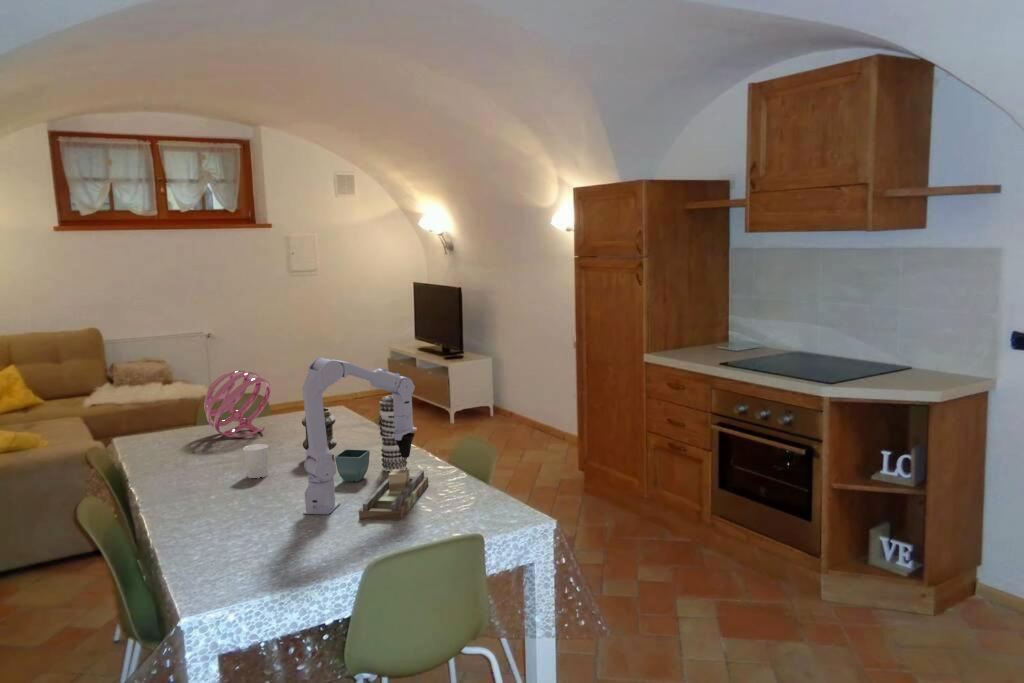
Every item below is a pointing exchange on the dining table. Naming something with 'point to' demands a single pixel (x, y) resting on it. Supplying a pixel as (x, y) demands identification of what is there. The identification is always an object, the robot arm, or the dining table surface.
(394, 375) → the robot arm
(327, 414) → the apothecary jar
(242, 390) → the pink slatted sphere
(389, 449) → the black and white cylinder
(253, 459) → the white cup
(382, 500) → the trap box
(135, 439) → the dining table surface
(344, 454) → the flower pot
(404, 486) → the maple block
